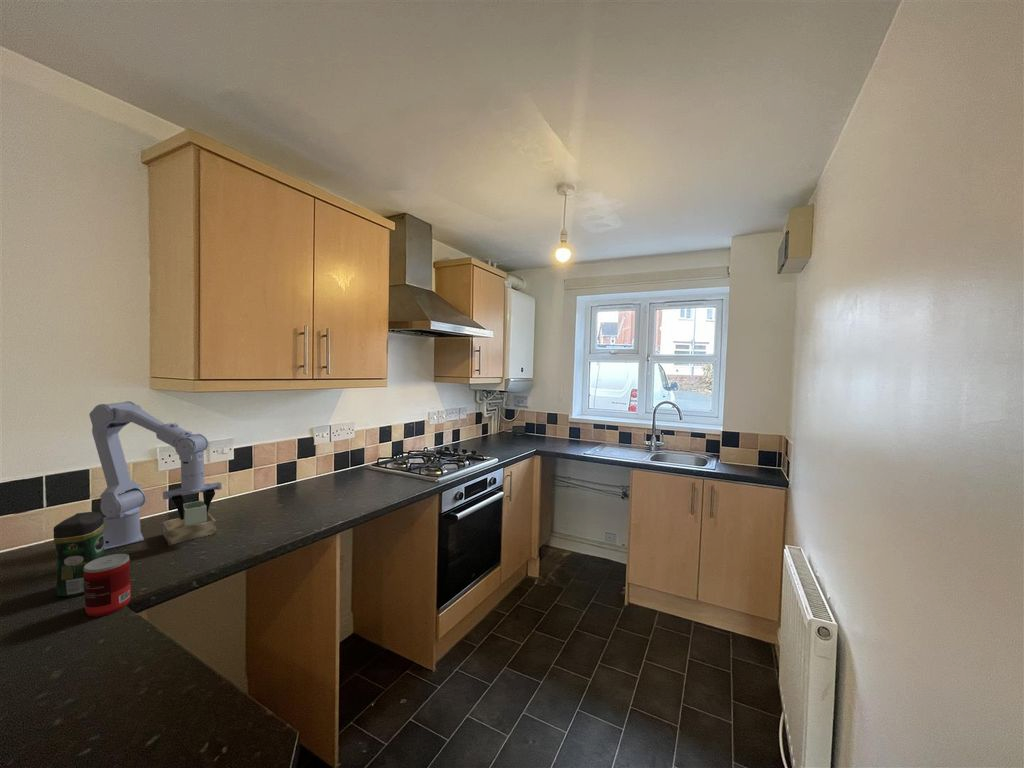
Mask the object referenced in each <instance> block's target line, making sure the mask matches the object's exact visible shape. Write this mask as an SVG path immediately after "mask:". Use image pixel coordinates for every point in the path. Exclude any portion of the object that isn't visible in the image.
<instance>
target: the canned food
mask: <svg viewBox="0 0 1024 768" xmlns="http://www.w3.org/2000/svg"><path fill="white" fill-rule="evenodd" d="M130 562H131V561H130V555H129V554H127V553H114V554H109V555H105V556H104V557H101V558H98V559H95V560H93V561H91V562H89V563H87V564H86V565H85V566H84V569H83V573H84V575H83V576H84V593H83V595H84V608H85V609H84V610H85V613H86V615H87V616H89V617H102V616H106V615H110V614H113V613H115V612H117V611H120V610H122V609H123V608H125V607H126V606H127V605H129V603H130V602H131V598H132V589H131V587H132V586H131V563H130Z"/></svg>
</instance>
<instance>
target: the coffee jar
mask: <svg viewBox="0 0 1024 768" xmlns="http://www.w3.org/2000/svg"><path fill="white" fill-rule="evenodd" d="M103 516H104V515H103V513H102V514H101V513H100V512H98V511H86V512H85V511H84V512H77V513H75V514H74V515H72V516H70V517H68V518H66V519H64V520H62V521H60V522H59V523H57V524H56V525H55V526H54V527H53V542H54V546H55V552H56V553H55V554H56V557H55V558H56V595H57V596H59V597H75V596H79V595H81V594H84V576H83V575H84V573H83V569H84V566H85V565H86V564H87V563H89V562H91V561H93V560H95V559H98V558H101V557H104V556H106V551H105V550H104V538H103V531H104V521H103V518H104V517H103Z"/></svg>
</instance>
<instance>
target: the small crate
mask: <svg viewBox="0 0 1024 768" xmlns="http://www.w3.org/2000/svg"><path fill="white" fill-rule="evenodd" d="M183 513H184V519H183V520H182V522H183V523H184V525H185V526H188V525H193V524H197V523H202V522H206V521H207V506H206V505H205V503H204V500H201V499H200V500H198V501H190V502H186V503H183Z"/></svg>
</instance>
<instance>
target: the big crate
mask: <svg viewBox="0 0 1024 768" xmlns="http://www.w3.org/2000/svg"><path fill="white" fill-rule="evenodd" d="M162 532H163V533H162V534H163V537H164V540H165V541H166V542H167V544H168V546H173V544H174V545H177V543H178V544H182V543H185V542H184V541H186V542H189V541H188V540H190V541H193V540H192V539H194V540H197V539H196V538H198V539H201V538H200V537H202V538H205V537H204V536H206V537H208V535H210V536H213V535H212V534H214V535H217V520H216V519H215V517H213V516H212V514H211V513H210V512H209V511H208V514H207V521H206V522H202V523H197V524H193V525H188V526H185V525H184V523H183V522H182V520H181V519H180V517H177V518H173V519H169V520H164V521H162ZM181 542H182V543H181Z"/></svg>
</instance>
